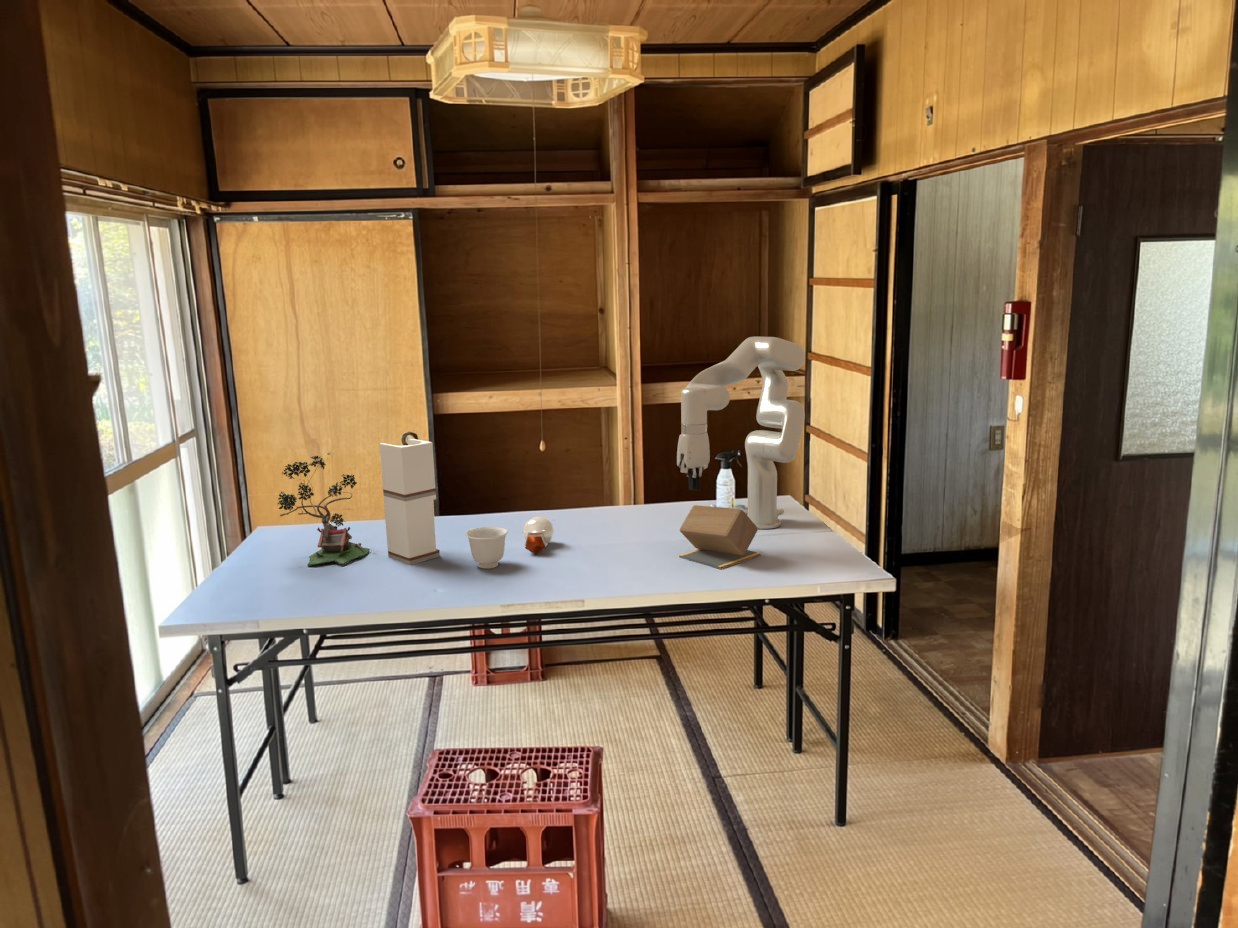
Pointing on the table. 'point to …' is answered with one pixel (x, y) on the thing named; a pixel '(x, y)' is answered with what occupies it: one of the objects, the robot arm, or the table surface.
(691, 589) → the table surface
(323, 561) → the bonsai tree
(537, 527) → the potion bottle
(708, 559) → the mat
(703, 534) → the block
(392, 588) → the table surface
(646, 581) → the table surface
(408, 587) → the table surface
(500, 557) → the teacup
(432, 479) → the white banded pillar
